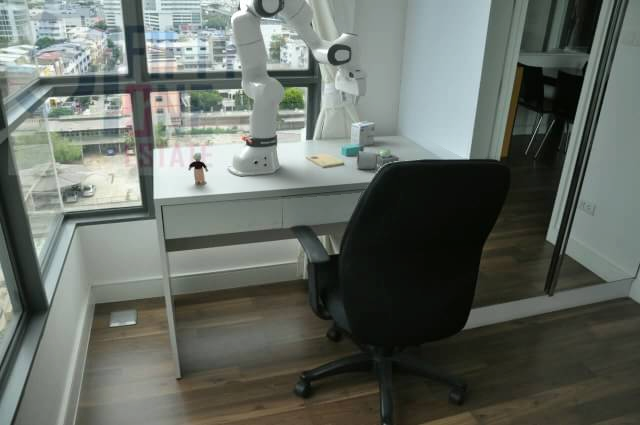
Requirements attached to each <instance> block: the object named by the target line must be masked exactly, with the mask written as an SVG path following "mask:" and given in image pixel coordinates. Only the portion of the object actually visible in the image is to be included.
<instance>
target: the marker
mask: <svg viewBox="0 0 640 425" xmlns="http://www.w3.org/2000/svg"><path fill="white" fill-rule="evenodd" d="M364 149H365V146H363V145H360V144H354V145H352V144H348V145H347V144H346V145H342V146H341V152H340V153H341V155H342V156H344V157H352V156H358V152H359V151H362V152H365V151H364Z"/></svg>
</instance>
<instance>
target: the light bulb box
mask: <svg viewBox="0 0 640 425" xmlns="http://www.w3.org/2000/svg"><path fill="white" fill-rule="evenodd" d="M375 128H376V123H375V122H371V121H369V120H365V121H359V122H354V123H351V128H350V131H351V132H350V145H354V144H360V145H363V146H364V147H365V146H369V145H373V144H374V141H375Z"/></svg>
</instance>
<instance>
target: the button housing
mask: <svg viewBox="0 0 640 425" xmlns="http://www.w3.org/2000/svg"><path fill="white" fill-rule="evenodd" d="M376 154H377V165H378V166H380V167H382V166H383V165H384V164H386V163H389V162H394V161H399V160H400V157H399V156H396V155H394V154H392V153H391V154H390V158H385V159H383V158H381V157H380V152H379V153H376Z"/></svg>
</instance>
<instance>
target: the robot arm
mask: <svg viewBox="0 0 640 425" xmlns="http://www.w3.org/2000/svg"><path fill="white" fill-rule="evenodd" d="M277 14H279V16H281V18H282V19H283V20H284V21H285V22H286V23H287V24H288V25H289V26H290V27H291V28H292V29H293V30H294V31H295V32H296V34H297V35H298V36H299V37H300V38H301V40H302V41H303V42H304V44H305V45H306V47H307V48H308V49H309V52H310V54H311V57H312V59H313V60H314V61H315V62H316V63H318V64H324V65H328V66H332V67H339V68H338V70H336V74H335V79H334V88H335V89H336V90H338V91H339V95H340V98H341V99H340V101H343V102H346V101H347V96H346V94H345V93H347V94H350V95H352V96H354V97H353V98H354V100H352V105H354V106H358V104H359V100H360V97H365V95H366V93H367V79H366V78H367V75H368V73H367V72H366V71H365V70H364V69H363V68H362V67H361V59H360V58H361V52H362V47H361V46H362V45H361V38H360V36H359V35H358V34H356V33H350V32H343V33H342V34H341V36H339V37H338V38H337V39H335V40H333V41H329V40H326V39H323V38H322V37H320V36H319V35H318V33H317V32H316V31H315V29H314V28H313V27H312V25H311V23H312V21H313V18H314V12H313V9H312V8H311V6H310V5H309V2H307V1H306V0H238V4H237V11H236V12H235V13H233V15H232V17H231V20H230V21H231V22H230V23H231V30H232V36H233V41H234V44H235V45H234V46H235V48H236V51H237V55H238V59H239V63H240V68H241V78H242V79H241V85H240V86H241V89H242V91H243V93H244V94H245V95H246V96H247V97H248V98H250V99H252V100H253V108H252V112H251V114H250V115H249V121H248V122H249V134H248V136H246V135H244V134H242V136H241V140H242V141H245V144H244V145H243V146H241V147H240V149H238V150H237V151H236V152H235V153H234V154H233V156H232V163H229V164H227V170H228V171H229V172H230V173H231V174H233V175H235V176H239V177H243V176H255V175H267V174H268V175H270V174H275V173H276V171H277V170H279V169H280V168H281V165H280V161H279V155H278V150H277V147H278V135H277V117H278V116H277V115H278V110H279V106H280V103H281V102H282V101H283V100H284V97H285V88H284V86H283V85H282V84H281V82H280V81H278V79H276V78H274V77H271V76H269V74H268V71H267V61H268V59H269V56H268V51H267V48H266V44H265V41H264V37H263V34H262V33H263V32H262V29H261V20H262V18H264V19H269V18H272V17H273V18H274V17H275V16H276V15H277Z"/></svg>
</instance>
